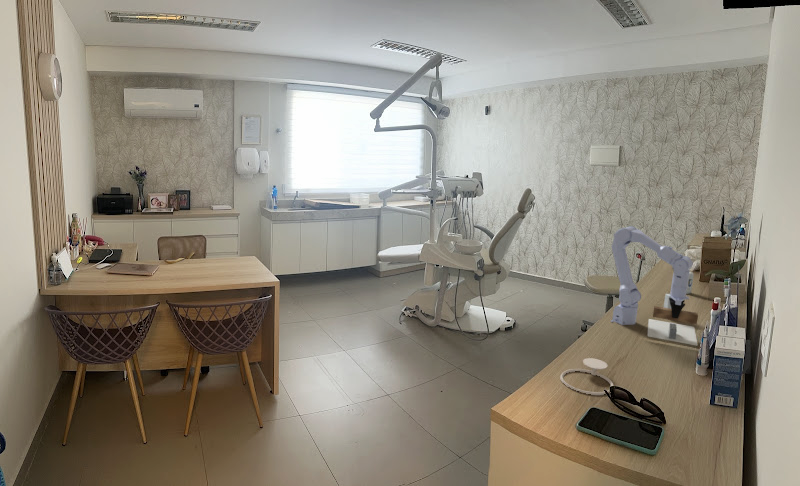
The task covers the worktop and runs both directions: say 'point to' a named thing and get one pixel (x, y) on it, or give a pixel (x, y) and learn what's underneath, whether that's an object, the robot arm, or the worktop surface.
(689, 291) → the ink box
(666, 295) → the skincare box
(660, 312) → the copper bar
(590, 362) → the hand towel holder
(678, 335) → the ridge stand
